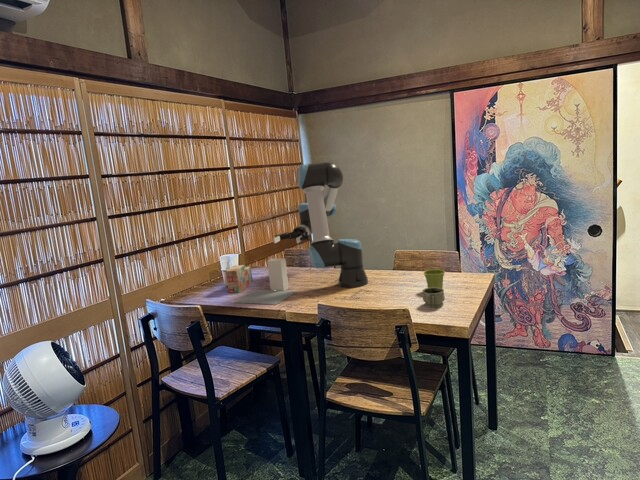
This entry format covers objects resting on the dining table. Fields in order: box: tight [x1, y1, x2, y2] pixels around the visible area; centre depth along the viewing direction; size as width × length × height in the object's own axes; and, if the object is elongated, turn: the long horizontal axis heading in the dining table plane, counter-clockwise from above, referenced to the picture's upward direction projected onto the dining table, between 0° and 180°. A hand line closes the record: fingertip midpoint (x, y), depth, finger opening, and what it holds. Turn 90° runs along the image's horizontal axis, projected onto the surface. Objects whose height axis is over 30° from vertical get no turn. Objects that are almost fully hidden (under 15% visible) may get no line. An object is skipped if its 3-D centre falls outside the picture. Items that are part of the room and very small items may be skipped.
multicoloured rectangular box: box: [225, 264, 254, 294], centre depth 237 cm, size 21×6×12 cm, turn 169°
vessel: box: [422, 287, 446, 309], centre depth 177 cm, size 12×9×6 cm
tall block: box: [267, 258, 290, 291], centre depth 224 cm, size 8×5×16 cm, turn 65°
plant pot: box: [423, 269, 446, 289], centre depth 196 cm, size 9×9×9 cm
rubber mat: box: [233, 289, 298, 305], centre depth 213 cm, size 24×20×1 cm
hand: (285, 240), depth 231 cm, fingers open, 13 cm apart
